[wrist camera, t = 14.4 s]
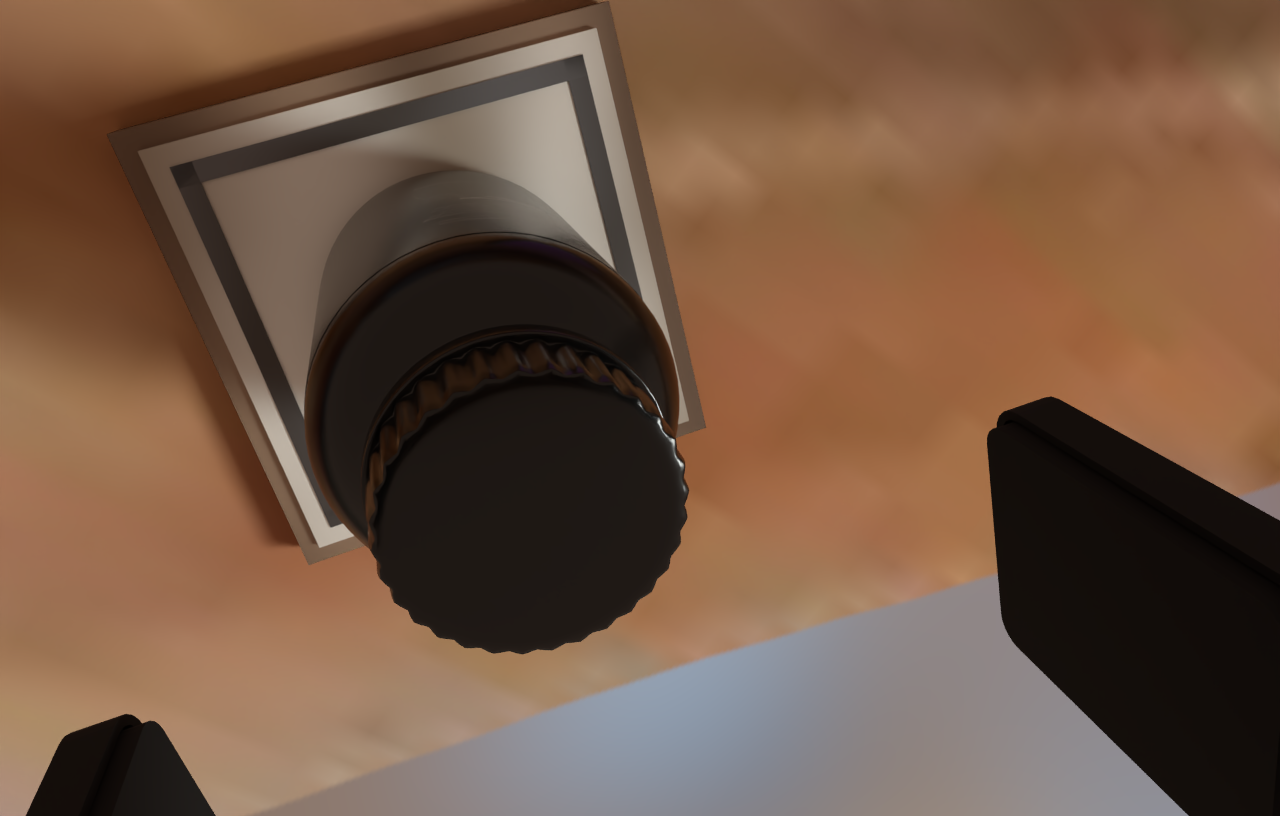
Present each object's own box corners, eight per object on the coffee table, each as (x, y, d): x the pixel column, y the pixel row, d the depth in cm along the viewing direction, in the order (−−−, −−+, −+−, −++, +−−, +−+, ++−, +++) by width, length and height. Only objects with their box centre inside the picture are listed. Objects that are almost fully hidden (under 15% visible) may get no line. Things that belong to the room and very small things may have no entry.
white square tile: (599, 2, 24) (611, 0, 22) (695, 415, 29) (708, 430, 27) (117, 130, 22) (103, 135, 21) (310, 547, 27) (308, 569, 26)
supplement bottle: (261, 318, 23) (171, 567, 12) (440, 106, 22) (510, 173, 12) (475, 468, 26) (552, 775, 15) (638, 286, 25) (840, 472, 15)
